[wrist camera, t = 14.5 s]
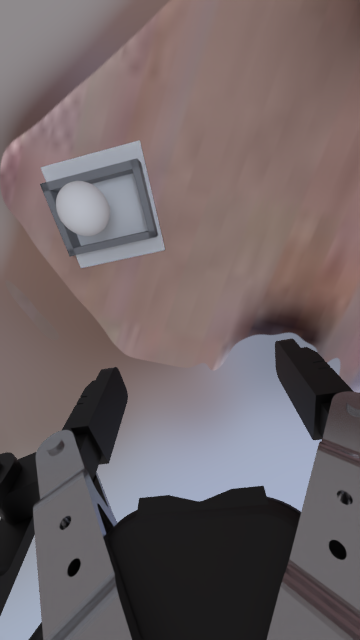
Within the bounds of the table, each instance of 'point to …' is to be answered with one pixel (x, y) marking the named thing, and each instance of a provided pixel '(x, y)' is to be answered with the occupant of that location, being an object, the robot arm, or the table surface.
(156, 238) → the grey flat square tray
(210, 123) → the table surface
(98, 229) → the lightbulb
